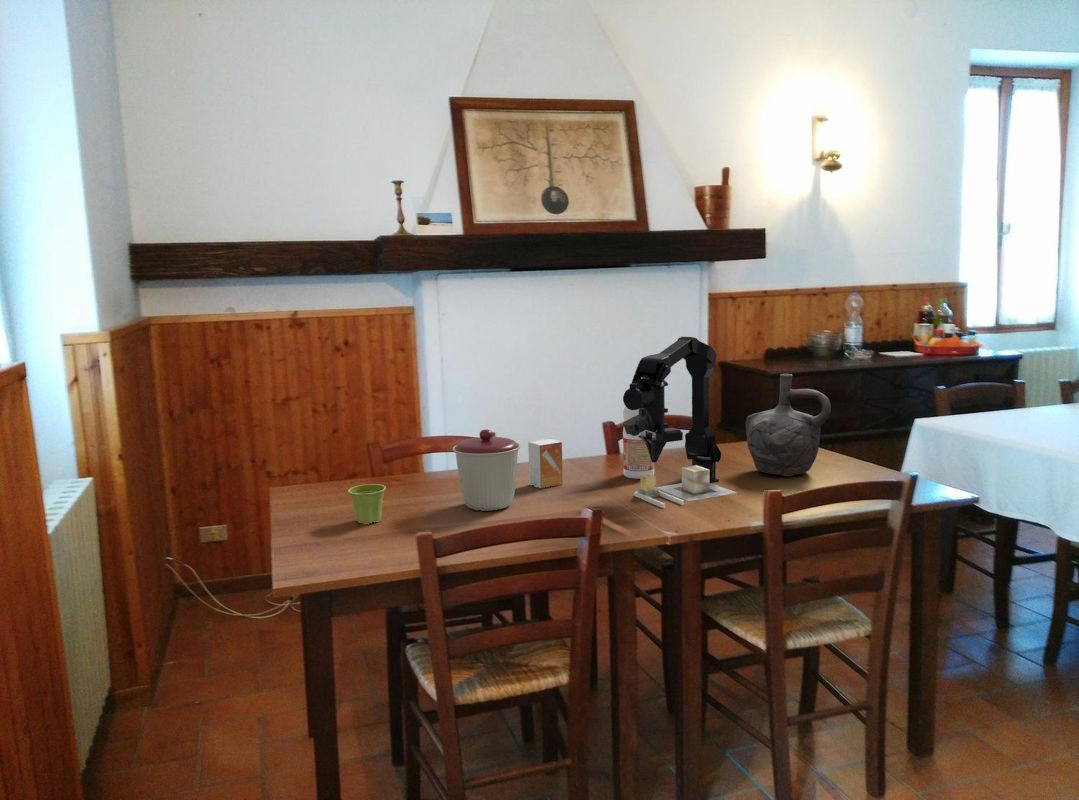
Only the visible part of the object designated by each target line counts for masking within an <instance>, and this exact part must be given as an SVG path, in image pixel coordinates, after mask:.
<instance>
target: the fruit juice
mask: <svg viewBox="0 0 1079 800" xmlns="http://www.w3.org/2000/svg"><path fill="white" fill-rule="evenodd" d="M639 410H640V409H637V410H630V409H628V408H627V407H626V406H625V407H624V408H623V411H622V415H623V417H622V418H623V420H624V421H623V422H625V421H627V420H629V419H630V418H632V417H634V416H637V415H639ZM639 435H641V434H640V433H639V434H638V435H636V436H632V435H630V434H626V431H625V428H624V427H623V429H622V447H623V448H622V453H623V454H622V456H623V459H622V461H623V463H622V465H623V469H622V470H623V475H624V477H625V478H628V479H634V480H635V479H636V480H638V479H640V476H641V475H647V474H651V475H653V476H655V463H653V462H652V461H651V458H650V455H649V452H648V449H647V446H646V443H645V442H644V441H643V440H642V439H641V438H639V437H638V436H639Z"/></svg>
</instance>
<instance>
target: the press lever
mask: <svg viewBox="0 0 1079 800" xmlns="http://www.w3.org/2000/svg"><path fill="white" fill-rule="evenodd" d="M639 481H640V489H637V491H636V492H639V493H641V494H643V495H646V496H648V497H651V498H657V497H660V496H659V491H660V490H659V489H657V490H656V487H657V476H656V475H654V476H653V475H651V474H647V475H641V476H640V480H639ZM658 490H659V491H658Z"/></svg>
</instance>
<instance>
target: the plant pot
mask: <svg viewBox="0 0 1079 800" xmlns="http://www.w3.org/2000/svg"><path fill="white" fill-rule="evenodd" d="M386 489H387V487H386V486H385V485H384V484H378V483H369V484H360V485H355V486H352V487H350V488H349V489H348V490H347V491H348V492H347V493H349V494H350V498H351V500H352V501H351V502H352V505H353V510H354V513H355V517H356V518H355V519H356V522H357V521H358V522H357V523H359V522H361V523H371V524H373V523H372V522H374V523H375V522H377V521H380V520H381V521H382V516H383V515H382V513H383V504H384V503H383V501H384V495H385V491H386ZM381 521H380V522H381Z"/></svg>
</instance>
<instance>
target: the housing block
mask: <svg viewBox="0 0 1079 800" xmlns="http://www.w3.org/2000/svg"><path fill="white" fill-rule="evenodd" d="M681 483H682V489H685V490H687V491H690V492H692V493H699V492H705V491H709V485H710V483H711V482H710V470H709V469H706V468H703V467H700V466H697V465H695V466H691V465H688V466H683V467H681Z"/></svg>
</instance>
